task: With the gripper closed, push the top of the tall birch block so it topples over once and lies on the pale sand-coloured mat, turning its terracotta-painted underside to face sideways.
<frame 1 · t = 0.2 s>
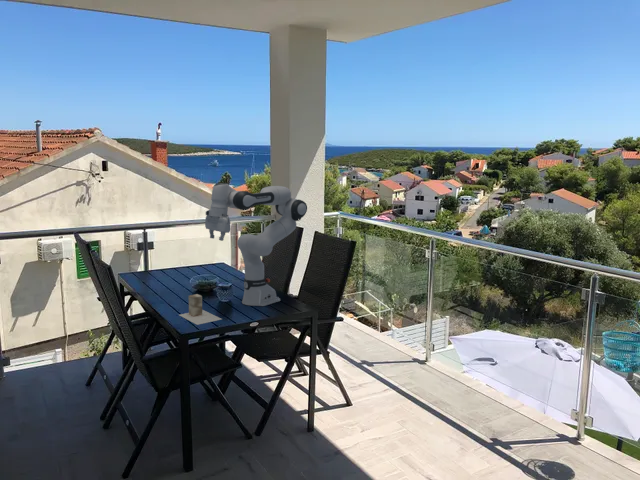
hand: (216, 239, 252), 39 cm above the table, fingers open, 8 cm apart
birch block: (195, 314, 247), resting on sand mat
sand mat: (200, 317, 244), on the table
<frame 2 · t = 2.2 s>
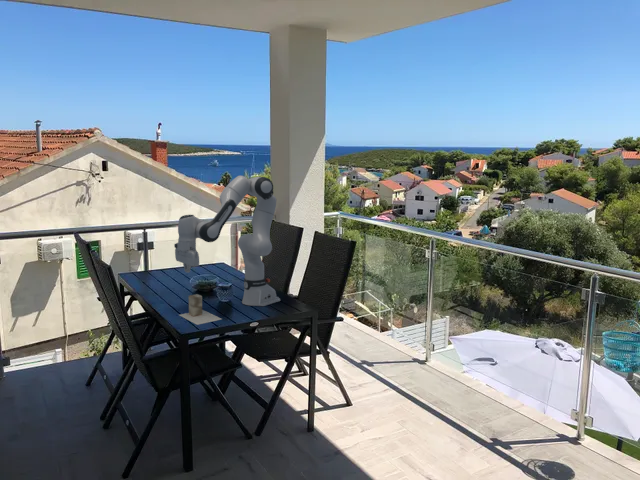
hand: (187, 272, 250), 22 cm above the table, fingers closed
nothing on the table moved.
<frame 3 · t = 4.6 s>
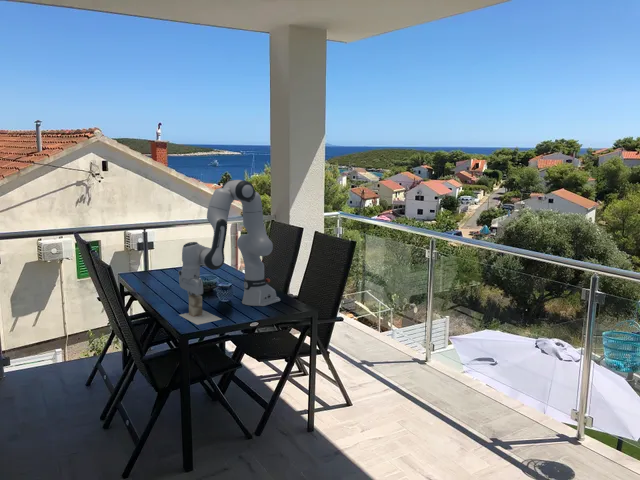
hand: (191, 299, 249), 8 cm above the table, fingers closed
birch block: (195, 314, 247), point 1 cm above the table, touching gripper, sand mat
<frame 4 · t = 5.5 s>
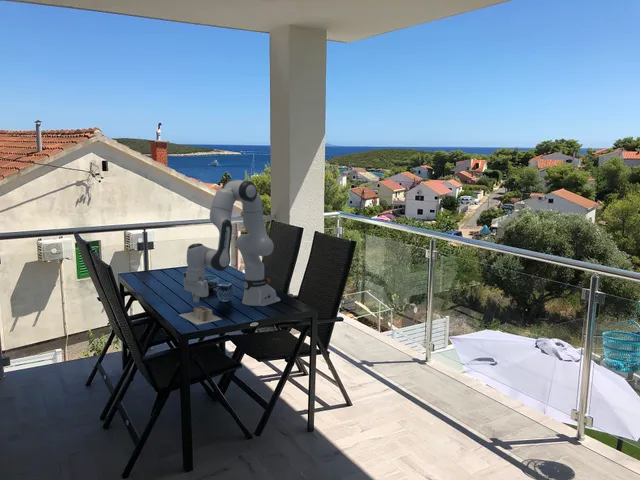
hand: (196, 301, 245), 8 cm above the table, fingers closed
birch block: (198, 311, 245), point 3 cm above the table, tilted 90°, touching sand mat
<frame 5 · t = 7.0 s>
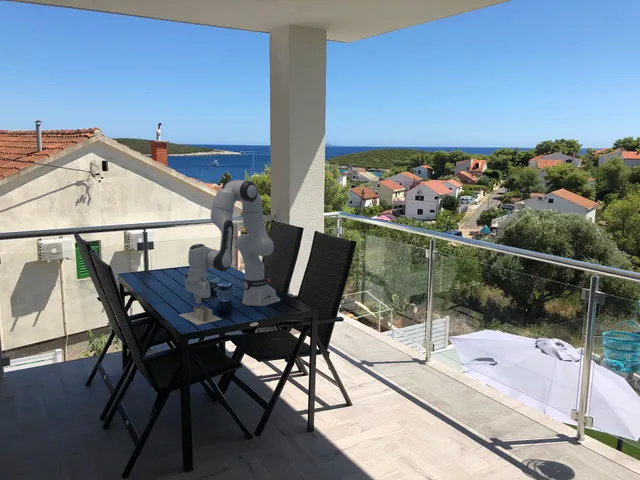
hand: (198, 302, 244), 8 cm above the table, fingers closed
nothing on the table moved.
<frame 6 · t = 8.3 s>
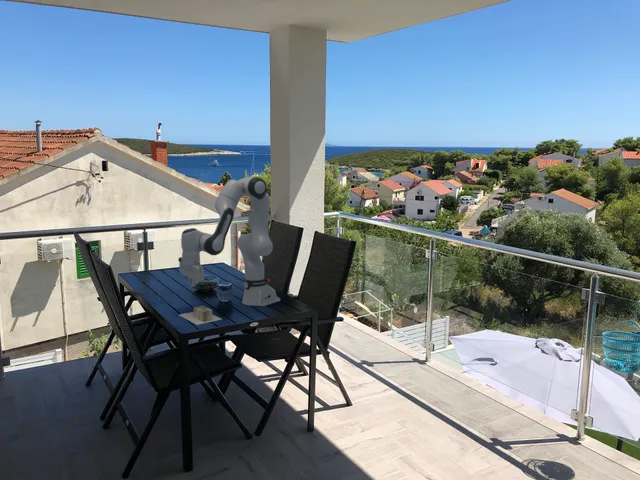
hand: (192, 285, 248), 15 cm above the table, fingers closed
nothing on the table moved.
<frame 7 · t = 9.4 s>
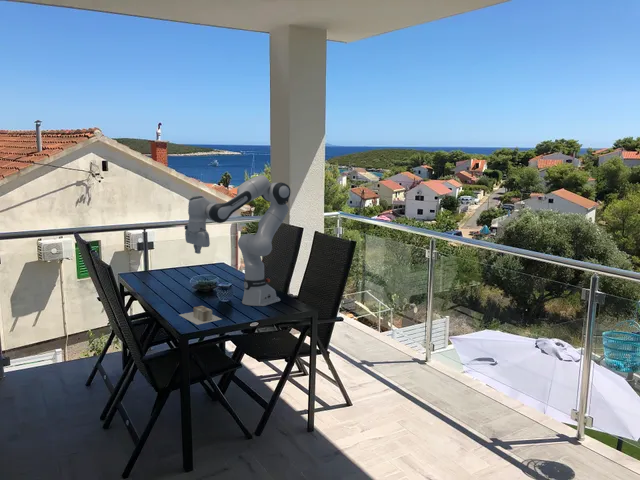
hand: (197, 253, 252), 31 cm above the table, fingers closed
nothing on the table moved.
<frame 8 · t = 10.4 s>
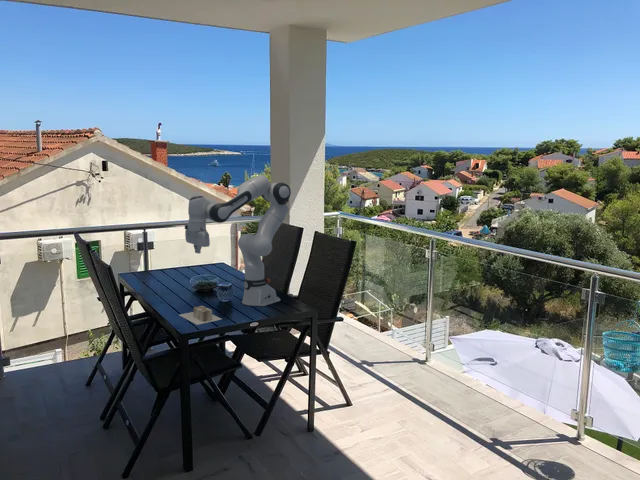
hand: (197, 253, 252), 31 cm above the table, fingers closed
nothing on the table moved.
at the end: birch block tilted 90°; birch block inside the target area (1.8 cm from its centre), point 3.0 cm above the table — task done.
